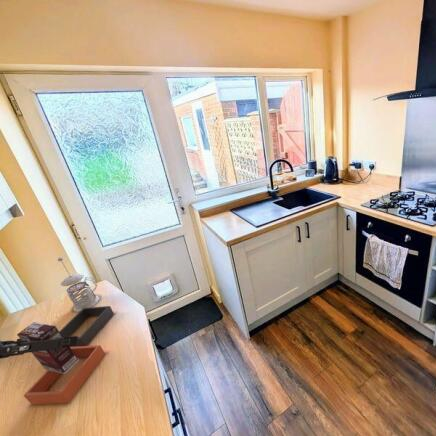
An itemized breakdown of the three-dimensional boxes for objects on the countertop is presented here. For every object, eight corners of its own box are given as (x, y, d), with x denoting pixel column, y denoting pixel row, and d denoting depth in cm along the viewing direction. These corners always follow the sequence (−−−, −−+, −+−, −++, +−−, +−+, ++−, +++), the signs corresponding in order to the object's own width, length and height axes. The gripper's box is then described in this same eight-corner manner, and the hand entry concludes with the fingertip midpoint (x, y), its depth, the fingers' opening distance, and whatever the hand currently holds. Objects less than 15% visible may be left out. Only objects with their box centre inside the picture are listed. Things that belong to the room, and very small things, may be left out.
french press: (76, 301, 114) (48, 256, 104) (105, 291, 118) (81, 247, 108) (70, 315, 106) (39, 267, 95) (101, 304, 110) (76, 257, 100)
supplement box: (44, 370, 76) (15, 334, 69) (60, 356, 80) (34, 321, 73) (64, 375, 74) (36, 338, 67) (80, 360, 78) (55, 324, 71)
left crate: (31, 404, 72) (23, 395, 71) (74, 355, 87) (68, 347, 85) (68, 402, 72) (61, 393, 70) (105, 353, 86) (100, 345, 84)
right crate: (56, 348, 90) (49, 340, 88) (88, 315, 104) (83, 307, 103) (86, 346, 90) (80, 338, 88) (114, 313, 104) (109, 305, 102)
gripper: (-85, 376, 55) (24, 357, 76) (5, 370, 54) (91, 353, 75) (-71, 339, 58) (31, 330, 79) (16, 333, 57) (96, 326, 78)
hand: (60, 341), depth 77 cm, fingers closed on supplement box, 9 cm apart
